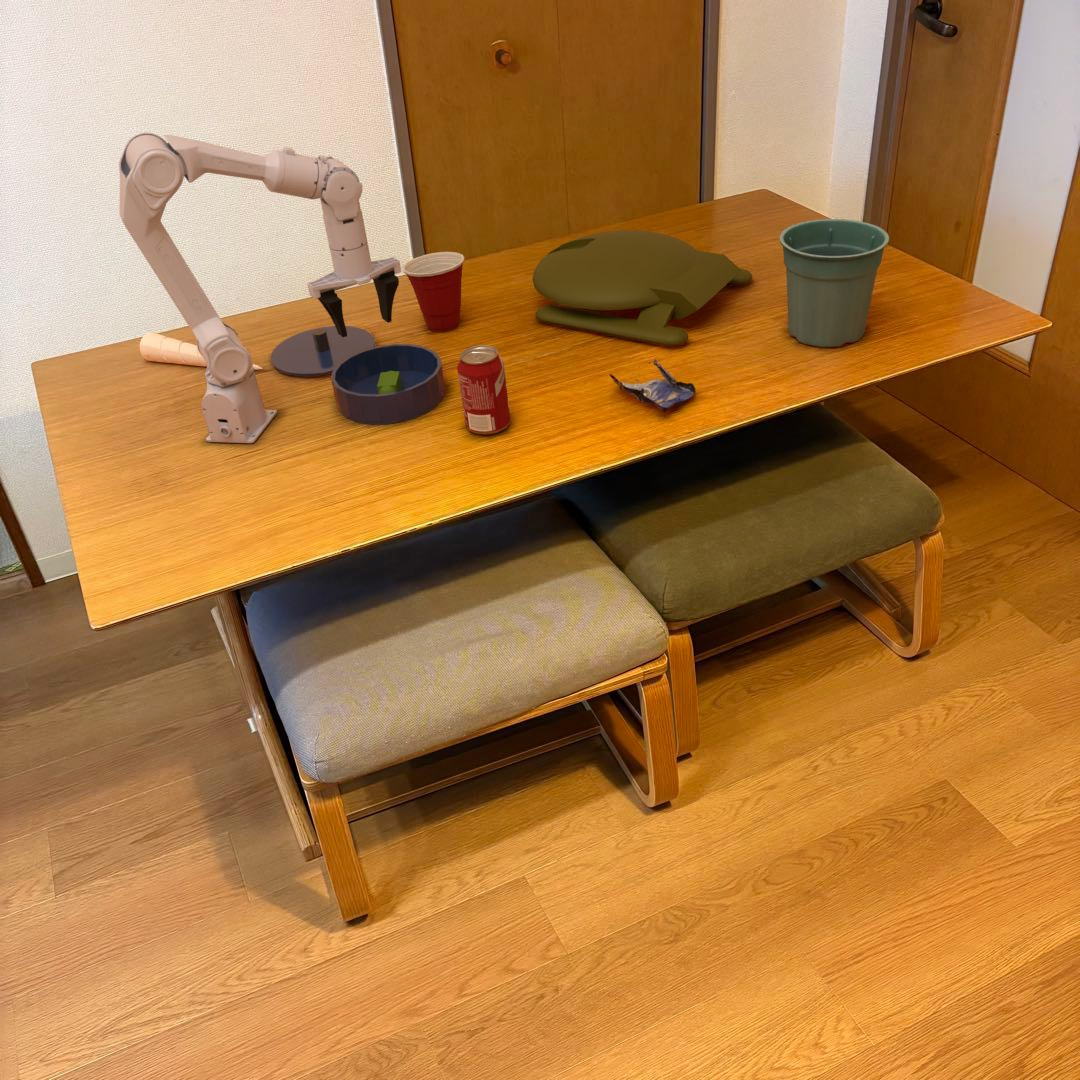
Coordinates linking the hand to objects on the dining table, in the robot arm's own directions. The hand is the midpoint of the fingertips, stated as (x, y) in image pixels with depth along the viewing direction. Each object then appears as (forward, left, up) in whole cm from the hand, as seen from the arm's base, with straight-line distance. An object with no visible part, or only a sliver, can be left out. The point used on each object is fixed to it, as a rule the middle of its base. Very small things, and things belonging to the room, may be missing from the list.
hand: (364, 327), depth 170 cm
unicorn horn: (+7, +34, -11) cm, 37 cm away
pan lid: (+11, +13, -10) cm, 20 cm away
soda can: (-11, -22, -11) cm, 27 cm away
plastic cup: (+23, -5, -11) cm, 25 cm away
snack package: (-2, -45, -11) cm, 47 cm away
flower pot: (+22, -71, -11) cm, 75 cm away
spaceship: (+34, -37, -11) cm, 51 cm away
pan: (-3, -4, -10) cm, 12 cm away
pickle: (-3, -4, -10) cm, 11 cm away
